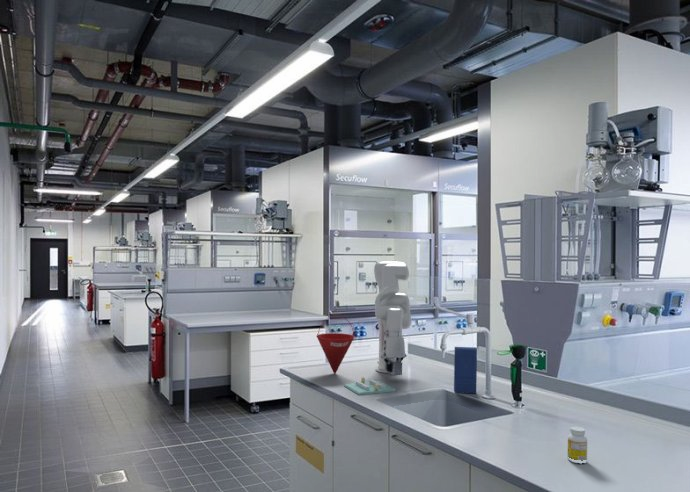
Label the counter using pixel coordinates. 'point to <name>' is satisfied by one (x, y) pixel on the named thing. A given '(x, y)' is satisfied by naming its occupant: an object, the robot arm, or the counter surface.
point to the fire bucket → (335, 346)
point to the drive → (395, 367)
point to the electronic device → (465, 370)
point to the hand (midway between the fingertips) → (393, 370)
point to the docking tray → (368, 387)
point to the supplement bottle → (577, 444)
